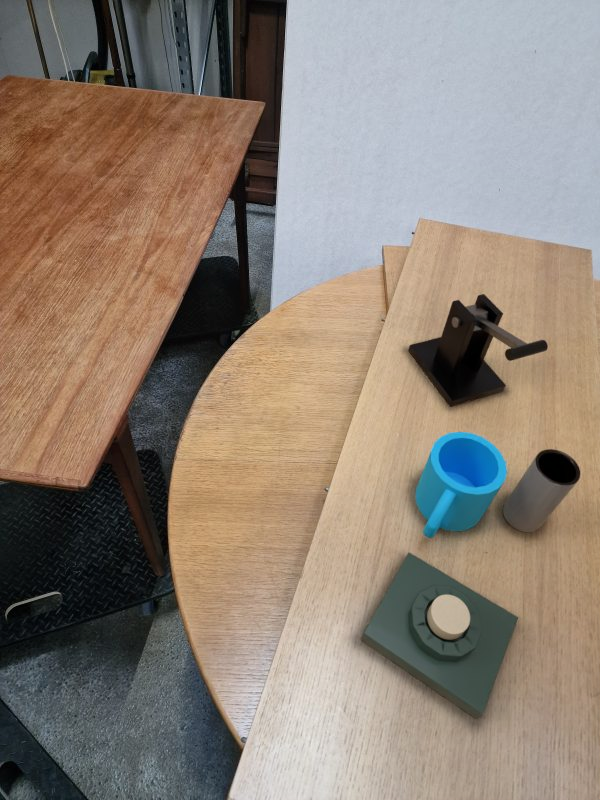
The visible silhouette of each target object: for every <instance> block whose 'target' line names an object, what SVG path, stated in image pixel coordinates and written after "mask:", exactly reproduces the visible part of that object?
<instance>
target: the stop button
mask: <svg viewBox="0 0 600 800" xmlns="http://www.w3.org/2000/svg"><path fill="white" fill-rule="evenodd" d="M427 620H428V624H429V626H430V628H431V630H432V631H433V632H434V633H435V634H436V635H437V636H439V637H441V638H443V639H446V640H454V639H457V638H458V637H460V636H461V635H462V634H463V633H464V631H465V630H466V629H467V628H468V626H469V623H470V613H469V610H468V608H467V606H466V605H465V604H464V602H463V601H462V600H460V599H459V598H457V597H455V596H453V595H441V596H439V597H437V598H436V599H435V600H434V601H433V603H432V605H431V606H430V608H429V610H428V613H427Z"/></svg>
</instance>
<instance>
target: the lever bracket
mask: <svg viewBox="0 0 600 800" xmlns="http://www.w3.org/2000/svg"><path fill="white" fill-rule="evenodd" d="M475 304H476V305H477V306H479V307H481V308H482V309H484V310H486V311H488V318H487V320H489V321H490V322H492V323H494V324H495V325H497V326H499V325H500V322H501V320H502V317H503V316H504V313H503V311H501V310H500V308H499V307H498V306H496V304H495V303H493V301H492V300H491V299H490V298H488V296H487V295H485V293H482V294H478V295H477V297H476V300H475V303H474V305H475ZM447 314H448V315H447V318H446V320H445V324H444V327H443V330H442V333H441V336H439V337H435V338H431V339H428V340H424V341H420V342H416V343H412V344H409V346H408V349H407V351H408V352H409V354H410V355H411V356H412V358H413V359H414V361H415V362H416V363H417V365H418V366H419V367H420V368H421V370H422V371H423V373H424V374H425V375H426V377H427V378H428V379H429V380H430V382H431V383H432V384H433V386H434V387H435V388H436V390H437V391H438V393H439V394H440V395H441V397H442V398H443V399H444V400H445V402H446V403H447V404H448V406H449V407H450V408H451V407H453V406H458V405H460V404H461V405H462V404H464V403H468V402H470V401H474V400H477V399H481V398H484V397H488V396H490V395H495V394H497V393H501V392H504V391H505V389H506V387H507V384H505V382H504V381H503V380H502V379H501V377H499V375H497V373H496V372H495V371H494V370H493V368H492V367H491V366H490V365H489V364H488V362H487V361H485V357H486V355H487V353H488V351H489V348H490V346H491V344H492V341H493V338H494V337H493V336H492V335H490V334H488V333H487V332H485V331H484V330H482V329H481V330H477V331H473V330H474V328H475V325H476V323H477V319H476V318H475V317H474V316H473V315H472V314H471V312H470V311H469V310H468V309H467V308H466V305H464V303H462V302H461V301H460V299H456V300H453V301H452V303H451V305H450V309H449V311H448V313H447Z"/></svg>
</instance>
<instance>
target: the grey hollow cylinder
mask: <svg viewBox="0 0 600 800" xmlns="http://www.w3.org/2000/svg"><path fill="white" fill-rule="evenodd" d="M580 479H581V469H580V466H579V464H578V462H577V461H575V459H574V458H573V457H572V456H570V455H569V454H568V453H566V452H564V451H562V450H558V449H552V448H548V449H543V450H541V451H539V452H538V453H537V454H536V456H535V457H534V459H533V460H532V461H531V463H530V464H529V466H528V468H527V469H526V470H525V472H524V474H523V475H522V476H521V478H520V480H519V481H518V483H516V486H515V487H514V488H513V490H512V491H511V493H510V494H509V496H508V497H507V499H506V501H505V503H504V504H503V506H502V513H503V517H504V519H505V520H506V522H507V523H508V524H509V526H511V527H512V528H514V529H515V530H517V531H520V532H523V533H534V532H536V531H538V530H539V529H540V528H541V527H542V526H543V525H544V523H546V521H547V520H548V518H549V517H550V516H552V513H553V512H554V511H555V510H556V509H557V507H558V506H559V505H560V504H561V503H562V501H563V500H564V499H565V498H566V497H567V496H568V494H569V493H570V492H571V490H572V489H573V488H574V487H575V486H576V484H577V483H578V482H579V480H580Z"/></svg>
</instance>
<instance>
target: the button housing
mask: <svg viewBox="0 0 600 800" xmlns="http://www.w3.org/2000/svg"><path fill="white" fill-rule="evenodd" d="M391 581H392V582H391V583H390V585H389V587H388V588H387V590H386V592H385V594H384V596H383V597H382V599H381V600H380V603H379V604H378V607H377V608H376V610H375V611H374V613H373V615H372V617H371V618H370V621H369V622H368V624H367V626H366V627H365V629H364V631H363V633H362V635H361V638H360V641H361V642H363V643H364V644H366V645H367V646H368V647H370V648H372V649H373V650H375V651H376V652H377V653H379V654H381V655H382V656H383V657H385V658H386V659H388V660H390V661H391V662H392V663H393V664H394V665H396V666H398V667H399V668H400V669H402V670H404V671H405V672H407V673H408V674H409V675H411V676H413V677H414V678H415V679H416V680H418V681H420V682H421V683H423V684H424V685H426V687H429V689H432V690H433V691H434V692H436V693H437V694H438V695H440V696H442V697H443V698H445V699H446V700H447V701H449V702H450V703H452V704H453V705H454V706H456V707H458V708H459V709H461V710H462V711H464V712H465V713H466V714H468V715H470V717H472V718H474V719H477V718H479V717H480V716H481V715H483V714H484V712H485V709H486V707H487V704H488V700H489V698H490V695H491V693H492V690H493V687H494V685H495V681H496V679H497V676H498V674H499V671H500V668H501V665H502V664H503V663H502V662H503V660H504V657H505V655H506V652H507V649H508V646H509V644H510V641H511V639H512V636H513V633H514V631H515V627H516V626H517V622H518V620H519V617H518V615H515V614H513V613H512V612H510V611H508V610H507V609H505V608H504V607H502V606H500V605H499V604H497V603H496V602H493V601H491V600H490V599H489V598H486V597H485V596H483V595H481V594H479V593H478V592H477V591H475V590H473V589H471V588H470V587H469V586H467V585H465V584H463V583H461V582H460V581H458V580H456V579H455V578H454V577H451V576H450V575H448V574H446V573H445V572H443V571H442V570H440V569H438V568H436V567H435V566H434V565H432V564H430V563H428V562H426V561H425V560H423V559H421V558H419V557H418V556H416V555H414V554H413V553H412V552H408V553H407V554H406V556H405V558H404V560H403V562H402V563H401V565H400V567H399V569H398V570H397V572H396V574H395V576H394V578H393V579H392V580H391ZM441 595H453V596H455V597H457V598H459V599H460V600H462V601H463V602H464V604H465V605H466V606H467V608H468V610H469V613H470V623H469V626H468V628H467V629H466V630H465V631H464V633H463V634H462V635H461V636H460V637H458V638H457V639H454V640H446V639H443V638H441V637H439V636H437V635H436V634H435V633H434V632H433V631H432V630H431V628H430V626H429V624H428V620H427V613H428V610H429V608H430V606H431V605H432V603H433V601H434V600H435V599H436V598H437V597H439V596H441Z"/></svg>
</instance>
